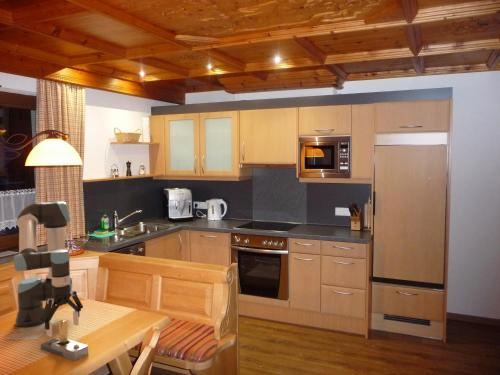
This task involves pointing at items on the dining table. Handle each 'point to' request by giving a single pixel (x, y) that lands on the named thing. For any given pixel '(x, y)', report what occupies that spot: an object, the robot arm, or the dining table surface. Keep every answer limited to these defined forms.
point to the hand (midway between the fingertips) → (63, 330)
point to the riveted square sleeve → (66, 349)
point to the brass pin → (63, 332)
